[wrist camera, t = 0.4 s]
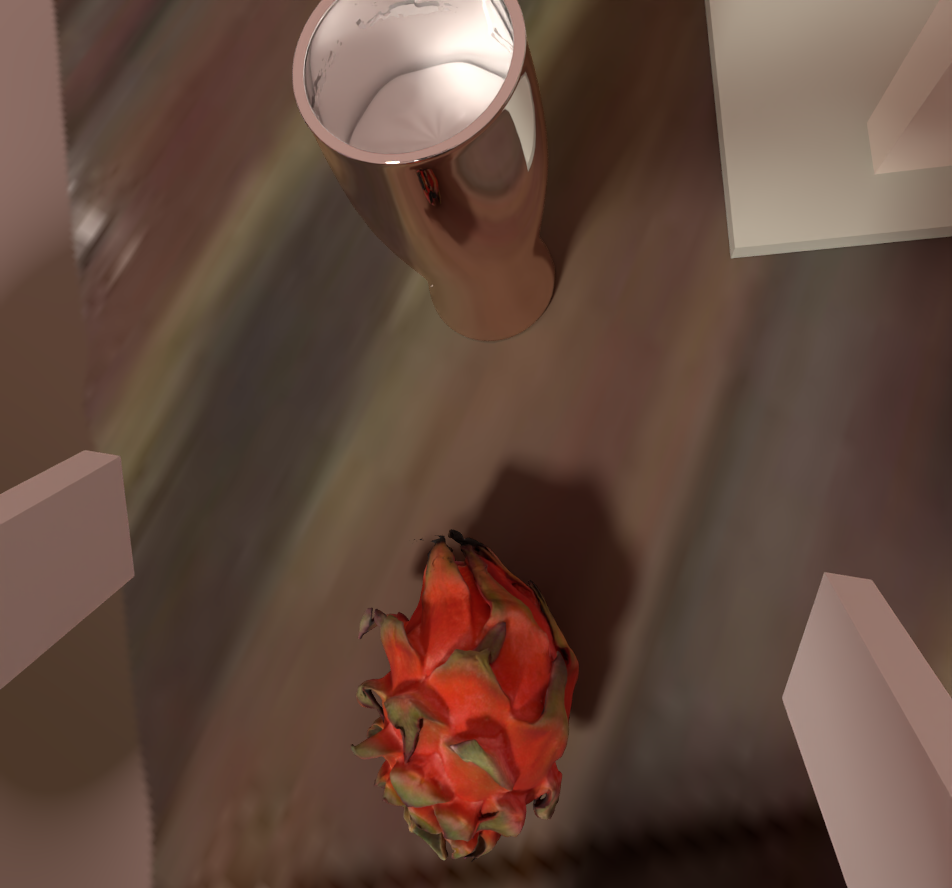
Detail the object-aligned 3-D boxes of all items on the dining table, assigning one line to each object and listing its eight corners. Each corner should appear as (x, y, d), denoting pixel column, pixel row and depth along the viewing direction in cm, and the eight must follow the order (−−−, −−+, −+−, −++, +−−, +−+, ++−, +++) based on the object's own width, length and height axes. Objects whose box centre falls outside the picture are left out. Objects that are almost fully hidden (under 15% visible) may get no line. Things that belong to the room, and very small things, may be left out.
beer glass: (484, 190, 34) (394, -98, 19) (594, 266, 32) (589, 13, 17) (394, 297, 33) (235, 88, 19) (500, 379, 32) (415, 218, 17)
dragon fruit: (480, 828, 30) (474, 557, 34) (644, 861, 24) (615, 528, 28) (307, 866, 24) (326, 536, 28) (467, 920, 18) (462, 494, 22)
